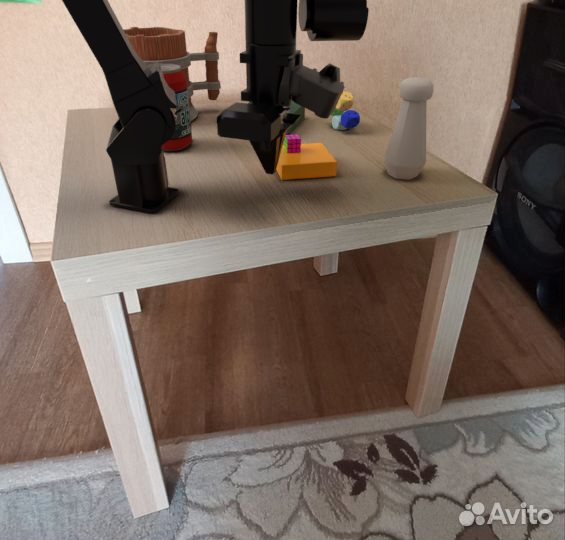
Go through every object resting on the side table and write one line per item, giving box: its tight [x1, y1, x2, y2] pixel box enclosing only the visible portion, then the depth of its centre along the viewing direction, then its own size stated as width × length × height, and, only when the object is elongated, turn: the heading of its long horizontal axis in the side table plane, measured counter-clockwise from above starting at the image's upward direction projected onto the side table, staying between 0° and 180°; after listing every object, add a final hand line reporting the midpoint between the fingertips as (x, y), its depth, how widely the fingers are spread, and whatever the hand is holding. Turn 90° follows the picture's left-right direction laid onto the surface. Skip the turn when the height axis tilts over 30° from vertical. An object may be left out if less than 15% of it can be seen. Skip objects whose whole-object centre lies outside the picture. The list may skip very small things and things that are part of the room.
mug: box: [123, 26, 222, 122], centre depth 86 cm, size 14×19×15 cm
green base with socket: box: [247, 101, 306, 135], centre depth 85 cm, size 13×10×5 cm
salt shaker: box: [383, 76, 434, 181], centre depth 64 cm, size 6×6×13 cm
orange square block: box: [276, 134, 338, 181], centre depth 68 cm, size 8×8×4 cm
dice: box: [330, 90, 361, 131], centre depth 83 cm, size 8×3×6 cm, turn 25°
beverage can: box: [148, 64, 193, 152], centre depth 73 cm, size 7×7×12 cm
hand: (270, 173), depth 61 cm, fingers closed
